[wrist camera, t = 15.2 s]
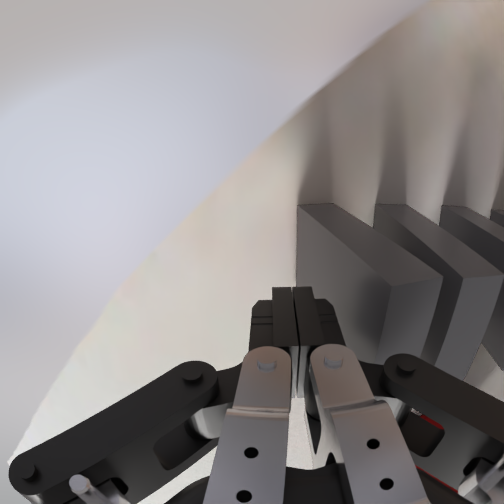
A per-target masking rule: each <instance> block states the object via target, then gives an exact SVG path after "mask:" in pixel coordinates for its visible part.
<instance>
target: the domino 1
mask: <svg viewBox="0 0 504 504" xmlns="http://www.w3.org/2000/svg"><path fill="white" fill-rule="evenodd" d="M442 281H443V276H442V275H441V274H439V273H438V272H436V271H435V270H434V269H432V268H431V267H429V266H428V265H427V264H425V263H424V262H422V261H421V260H420V259H418V258H417V257H415V256H414V255H412V254H411V253H409V252H408V251H407V250H405V249H404V248H402V247H401V246H399V245H398V244H396V243H395V242H393V241H392V240H390V239H389V238H387V237H386V236H384V235H383V234H381V233H380V232H378V231H376V230H375V229H373V228H372V227H370V226H369V225H367V224H366V223H364V222H362V221H361V220H359V219H358V218H356V217H354V216H353V215H351V214H350V213H348V212H346V211H345V210H343V209H341V208H340V207H338V206H336V205H335V204H333V203H328V204H308V205H298V212H297V273H296V287H303V286H311V287H312V290H313V294H314V298H315V299H324V298H325V299H326V300H328V301H329V302H330V303H331V304H332V305H333V307H334V310H335V313H336V316H337V319H338V323H339V325H340V328H341V331H342V335H343V338H344V341H345V344H346V347H348V348H349V349H351V350H352V351H353V352H354V353H355V355H356V357H357V359H358V360H360V361H363V362H366V363H372V364H380V365H384V363H385V361H386V360H387V358H389V357H390V356H392V355H395V354H400V353H405V354H411V355H414V356H416V357H418V358H420V355H421V352H422V350H423V347H424V344H425V341H426V338H427V335H428V331H429V328H430V325H431V322H432V318H433V315H434V311H435V308H436V304H437V301H438V297H439V293H440V289H441V285H442Z"/></svg>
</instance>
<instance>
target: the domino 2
mask: <svg viewBox="0 0 504 504" xmlns="http://www.w3.org/2000/svg"><path fill="white" fill-rule="evenodd" d="M373 229H375V230H376V231H378V232H380V233H381V234H383V235H384V236H386V237H387V238H389V239H390V240H392V241H393V242H395V243H396V244H398V245H399V246H401V247H402V248H404V249H405V250H407V251H408V252H409V253H411V254H412V255H414V256H415V257H417V258H418V259H420V260H421V261H422V262H424V263H425V264H427V265H428V266H429V267H431V268H432V269H434V270H435V271H436V272H438V273H439V274H441V275H442V276H443V281H442V285H441V289H440V293H439V297H438V301H437V304H436V308H435V311H434V315H433V318H432V322H431V325H430V328H429V331H428V335H427V338H426V341H425V344H424V347H423V350H422V352H421V355H420V359H422V360H424V361H426V362H428V363H429V364H431V365H433V366H435V367H437V368H439V369H441V370H443V371H445V372H446V373H448V374H450V375H452V376H454V377H456V378H458V379H460V380H462V381H463V380H464V378H465V376H466V374H467V372H468V370H469V368H470V366H471V364H472V362H473V359H474V357H475V355H476V353H477V351H478V348H479V346H480V344H481V341H482V339H483V336H484V334H485V331H486V329H487V326H488V324H489V321H490V318H491V316H492V313H493V310H494V307H495V304H496V301H497V298H498V295H499V292H500V289H501V285H502V282H503V279H504V274H503V273H502V272H501V271H499V270H498V269H497V268H496V267H494V266H493V265H492V264H490V263H489V262H488V261H487V260H485V259H484V258H483V257H481V256H480V255H479V254H477V253H476V252H475V251H473V250H472V249H471V248H469V247H468V246H467V245H465V244H464V243H463V242H461V241H460V240H458V239H457V238H456V237H454V236H453V235H451V234H450V233H449V232H447V231H446V230H444V229H443V228H441V227H440V226H438V225H437V224H435V223H434V222H432V221H431V220H429V219H428V218H426V217H425V216H423V215H422V214H420V213H419V212H417V211H416V210H414V209H412V208H411V207H409V206H408V205H398V204H375V214H374V226H373Z"/></svg>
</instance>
